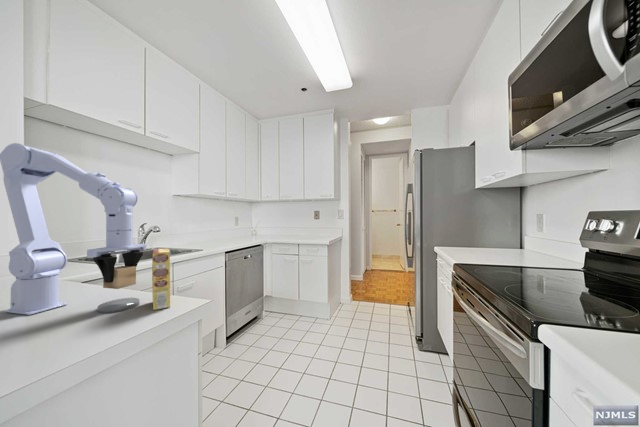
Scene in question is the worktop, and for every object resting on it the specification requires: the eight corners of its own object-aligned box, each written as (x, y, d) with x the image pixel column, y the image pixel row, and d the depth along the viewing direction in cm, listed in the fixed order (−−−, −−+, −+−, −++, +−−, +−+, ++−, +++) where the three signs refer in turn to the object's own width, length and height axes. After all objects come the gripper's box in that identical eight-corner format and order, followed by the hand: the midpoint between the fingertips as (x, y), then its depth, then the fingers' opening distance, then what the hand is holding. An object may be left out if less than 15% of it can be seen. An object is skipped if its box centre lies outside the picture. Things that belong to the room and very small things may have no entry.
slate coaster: (88, 311, 65) (88, 307, 65) (122, 300, 74) (123, 296, 74) (114, 314, 63) (114, 310, 63) (147, 302, 72) (147, 298, 72)
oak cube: (103, 287, 66) (103, 269, 67) (121, 283, 71) (122, 265, 71) (117, 289, 65) (118, 270, 65) (135, 284, 70) (136, 266, 70)
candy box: (170, 307, 67) (170, 251, 68) (151, 311, 65) (152, 252, 65) (169, 298, 75) (169, 248, 75) (152, 301, 72) (152, 249, 73)
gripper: (102, 232, 61) (101, 287, 60) (154, 229, 75) (154, 274, 74) (80, 232, 62) (80, 286, 62) (136, 229, 76) (135, 273, 76)
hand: (119, 279), depth 68 cm, fingers closed on oak cube, 5 cm apart
